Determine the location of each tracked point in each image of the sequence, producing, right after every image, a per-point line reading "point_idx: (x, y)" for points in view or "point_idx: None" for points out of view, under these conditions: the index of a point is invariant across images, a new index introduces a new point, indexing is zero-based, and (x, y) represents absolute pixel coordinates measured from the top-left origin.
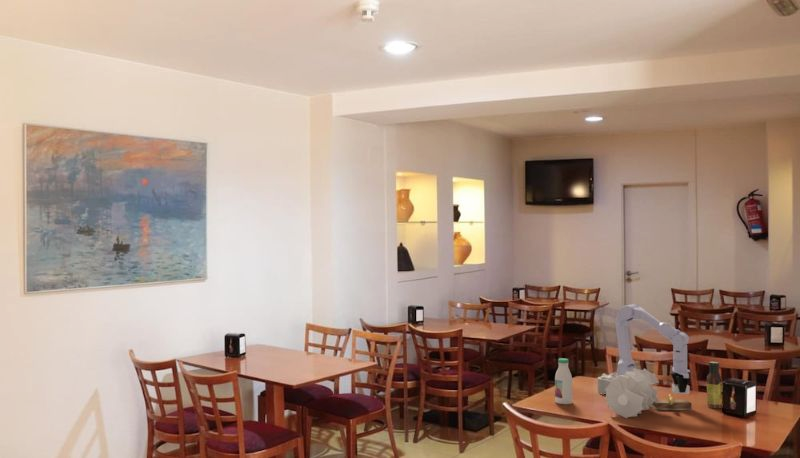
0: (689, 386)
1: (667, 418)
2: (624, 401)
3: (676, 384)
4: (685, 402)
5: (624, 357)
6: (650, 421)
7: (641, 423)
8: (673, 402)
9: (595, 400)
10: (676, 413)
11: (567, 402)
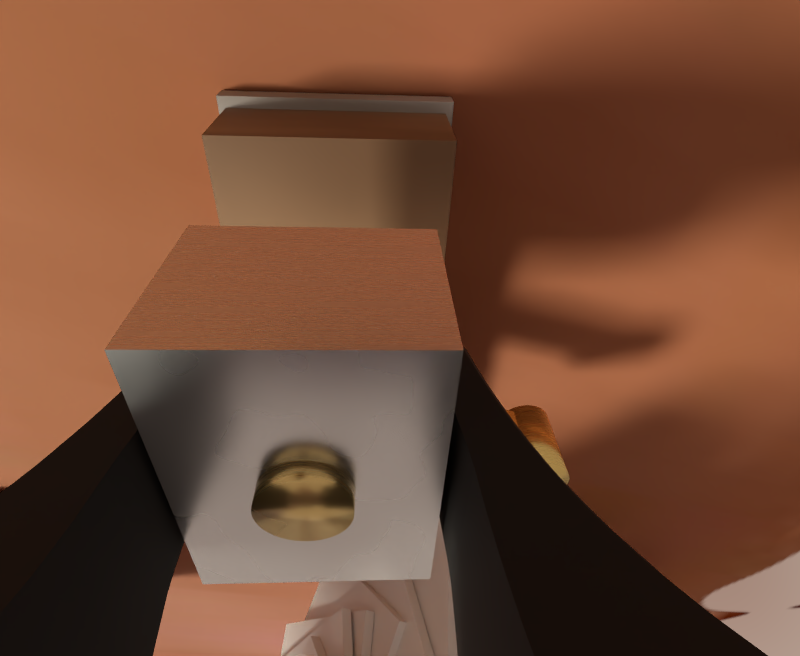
0: (461, 344)
1: (687, 439)
2: None
3: (286, 545)
4: (407, 222)
5: None
6: (706, 531)
7: (721, 567)
8: (549, 430)
9: (188, 645)
10: (561, 335)
11: None
